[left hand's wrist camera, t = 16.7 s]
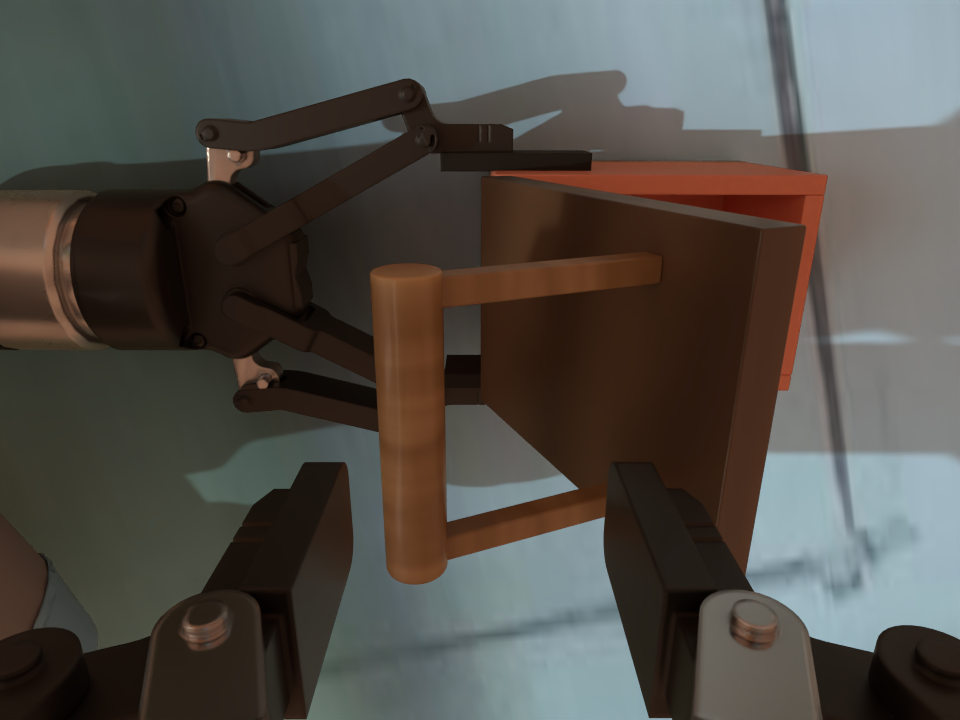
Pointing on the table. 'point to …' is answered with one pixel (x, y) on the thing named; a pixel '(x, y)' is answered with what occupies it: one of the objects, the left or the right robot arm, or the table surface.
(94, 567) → the table surface
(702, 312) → the lid
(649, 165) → the chest
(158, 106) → the table surface
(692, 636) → the left robot arm
